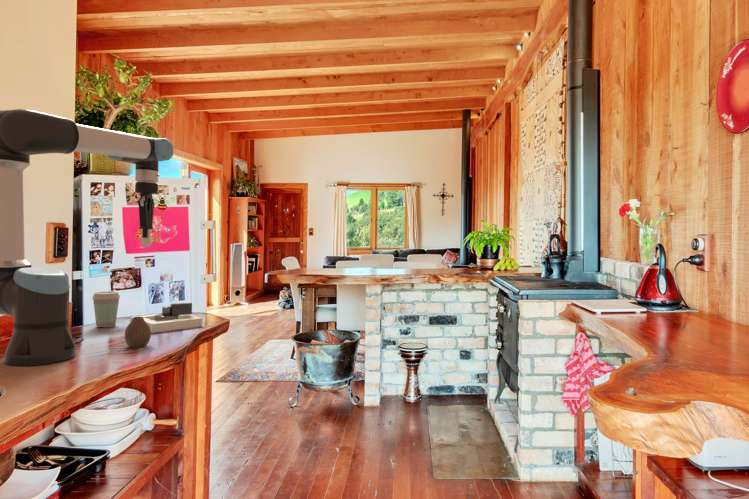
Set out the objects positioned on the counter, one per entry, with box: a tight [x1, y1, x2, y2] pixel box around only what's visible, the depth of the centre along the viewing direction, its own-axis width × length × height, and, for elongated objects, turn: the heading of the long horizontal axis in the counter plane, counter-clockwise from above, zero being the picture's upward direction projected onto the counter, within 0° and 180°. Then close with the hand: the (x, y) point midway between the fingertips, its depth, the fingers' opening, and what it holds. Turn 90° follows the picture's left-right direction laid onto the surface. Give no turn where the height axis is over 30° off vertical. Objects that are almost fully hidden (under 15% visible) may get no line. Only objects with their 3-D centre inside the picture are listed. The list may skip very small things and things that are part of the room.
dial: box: [154, 302, 193, 322], centre depth 169 cm, size 12×8×6 cm, turn 126°
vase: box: [124, 316, 152, 349], centre depth 137 cm, size 7×7×9 cm
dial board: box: [129, 313, 203, 334], centre depth 168 cm, size 18×18×3 cm
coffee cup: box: [91, 291, 121, 328], centre depth 164 cm, size 8×8×12 cm
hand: (145, 246), depth 170 cm, fingers closed
